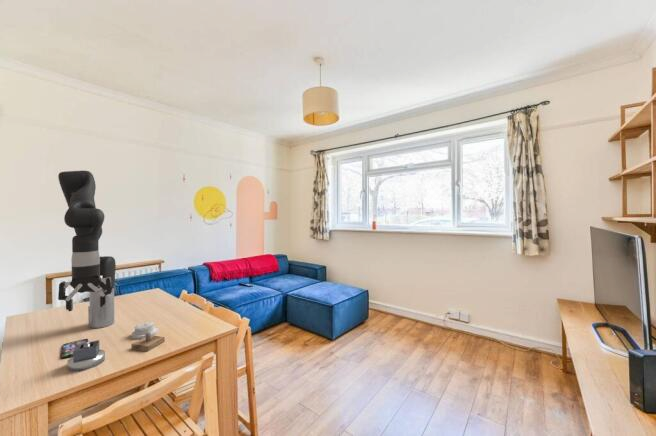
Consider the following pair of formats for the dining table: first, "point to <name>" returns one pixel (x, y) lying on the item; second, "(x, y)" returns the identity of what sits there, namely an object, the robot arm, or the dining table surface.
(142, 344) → the stand
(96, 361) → the stand
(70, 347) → the smartphone
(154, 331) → the grey rounded lump
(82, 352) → the grey notched block
